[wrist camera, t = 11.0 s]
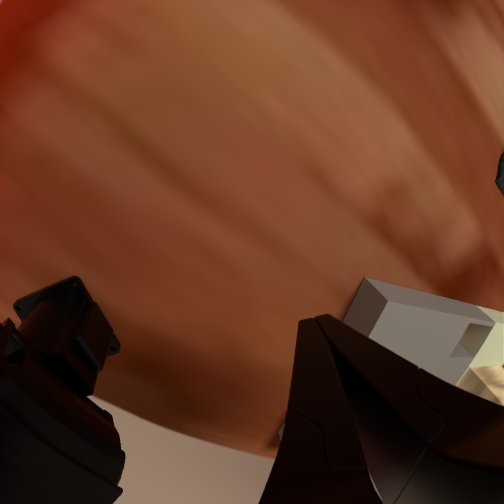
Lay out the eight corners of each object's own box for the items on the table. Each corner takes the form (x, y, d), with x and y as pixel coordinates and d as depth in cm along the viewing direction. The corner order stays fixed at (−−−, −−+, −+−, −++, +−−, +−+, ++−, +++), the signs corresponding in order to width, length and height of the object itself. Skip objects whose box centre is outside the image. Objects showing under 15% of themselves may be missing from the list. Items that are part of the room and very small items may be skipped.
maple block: (433, 414, 28) (472, 470, 20) (469, 367, 26) (518, 422, 18) (468, 408, 31) (504, 454, 23) (500, 365, 28) (542, 410, 20)
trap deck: (278, 432, 29) (286, 459, 26) (364, 276, 23) (388, 300, 20) (435, 419, 36) (446, 436, 33) (507, 313, 30) (525, 328, 27)
